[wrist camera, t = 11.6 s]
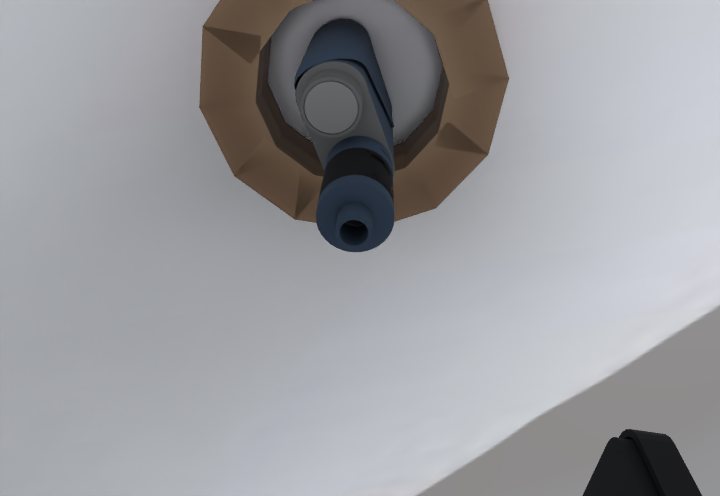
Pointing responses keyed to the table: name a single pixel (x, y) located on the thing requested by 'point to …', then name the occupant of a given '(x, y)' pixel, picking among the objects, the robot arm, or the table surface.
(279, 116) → the wooden ring
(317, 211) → the vaping device
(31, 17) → the table surface
